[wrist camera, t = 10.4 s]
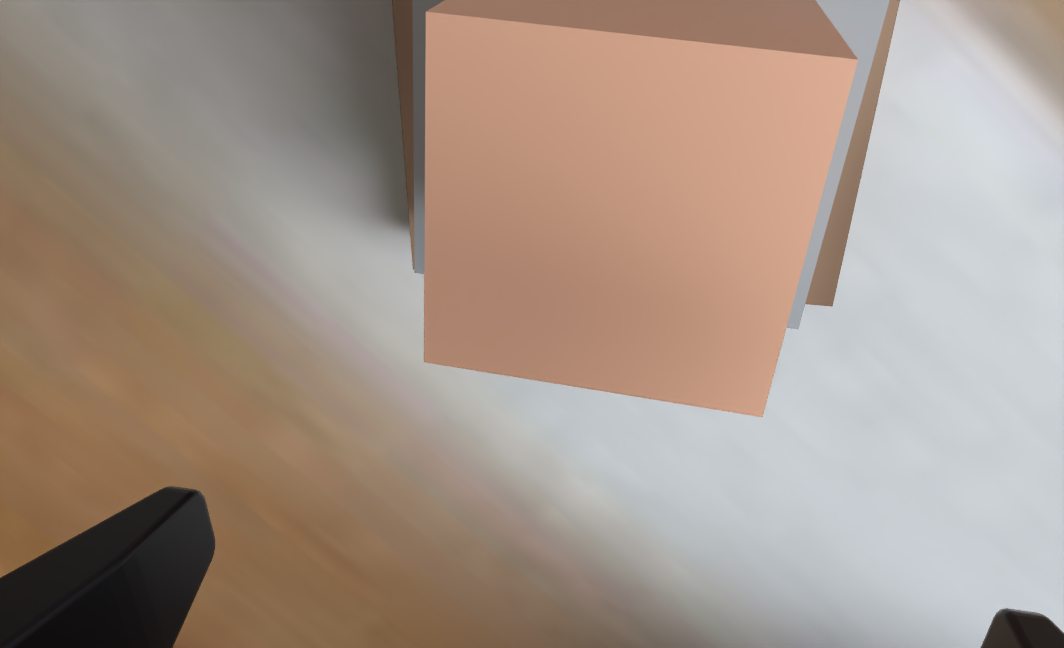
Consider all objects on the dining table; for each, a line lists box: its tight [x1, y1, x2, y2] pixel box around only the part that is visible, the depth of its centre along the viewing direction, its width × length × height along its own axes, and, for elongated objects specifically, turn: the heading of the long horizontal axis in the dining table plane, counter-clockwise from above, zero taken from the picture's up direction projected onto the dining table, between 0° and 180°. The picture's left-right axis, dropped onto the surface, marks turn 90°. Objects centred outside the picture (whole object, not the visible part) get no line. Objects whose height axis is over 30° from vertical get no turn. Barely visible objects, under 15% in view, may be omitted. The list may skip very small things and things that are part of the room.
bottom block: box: [392, 0, 900, 306], centre depth 18 cm, size 10×10×2 cm
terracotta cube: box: [424, 0, 858, 417], centre depth 13 cm, size 5×5×5 cm
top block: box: [412, 0, 890, 329], centre depth 16 cm, size 8×8×2 cm
